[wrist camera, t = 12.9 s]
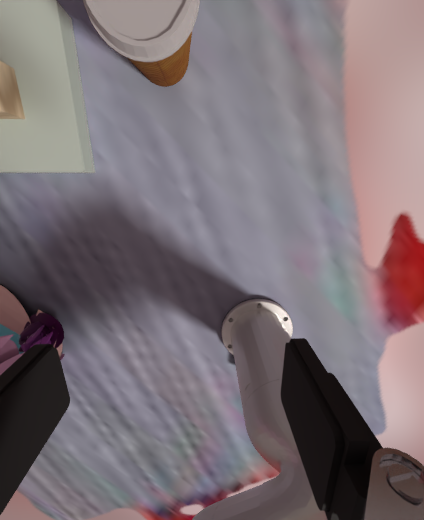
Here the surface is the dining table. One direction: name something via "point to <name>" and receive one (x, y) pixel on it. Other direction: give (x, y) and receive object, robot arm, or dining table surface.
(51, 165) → the sage stand
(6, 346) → the purple clam shell
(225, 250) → the dining table surface
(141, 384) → the dining table surface
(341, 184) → the dining table surface
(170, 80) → the disposable coffee cup
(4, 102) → the maple block
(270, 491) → the robot arm
